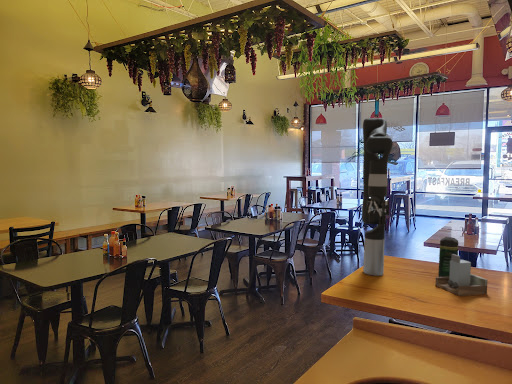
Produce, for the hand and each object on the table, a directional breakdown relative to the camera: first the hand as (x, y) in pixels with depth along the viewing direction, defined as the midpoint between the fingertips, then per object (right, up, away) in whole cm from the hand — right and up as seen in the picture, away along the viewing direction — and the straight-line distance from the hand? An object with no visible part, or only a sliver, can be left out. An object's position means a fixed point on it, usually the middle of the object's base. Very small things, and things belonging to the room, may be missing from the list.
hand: (376, 223), depth 164 cm
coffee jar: (+40, -27, +22) cm, 53 cm away
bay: (+36, -28, +2) cm, 46 cm away
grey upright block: (+36, -27, +2) cm, 45 cm away
